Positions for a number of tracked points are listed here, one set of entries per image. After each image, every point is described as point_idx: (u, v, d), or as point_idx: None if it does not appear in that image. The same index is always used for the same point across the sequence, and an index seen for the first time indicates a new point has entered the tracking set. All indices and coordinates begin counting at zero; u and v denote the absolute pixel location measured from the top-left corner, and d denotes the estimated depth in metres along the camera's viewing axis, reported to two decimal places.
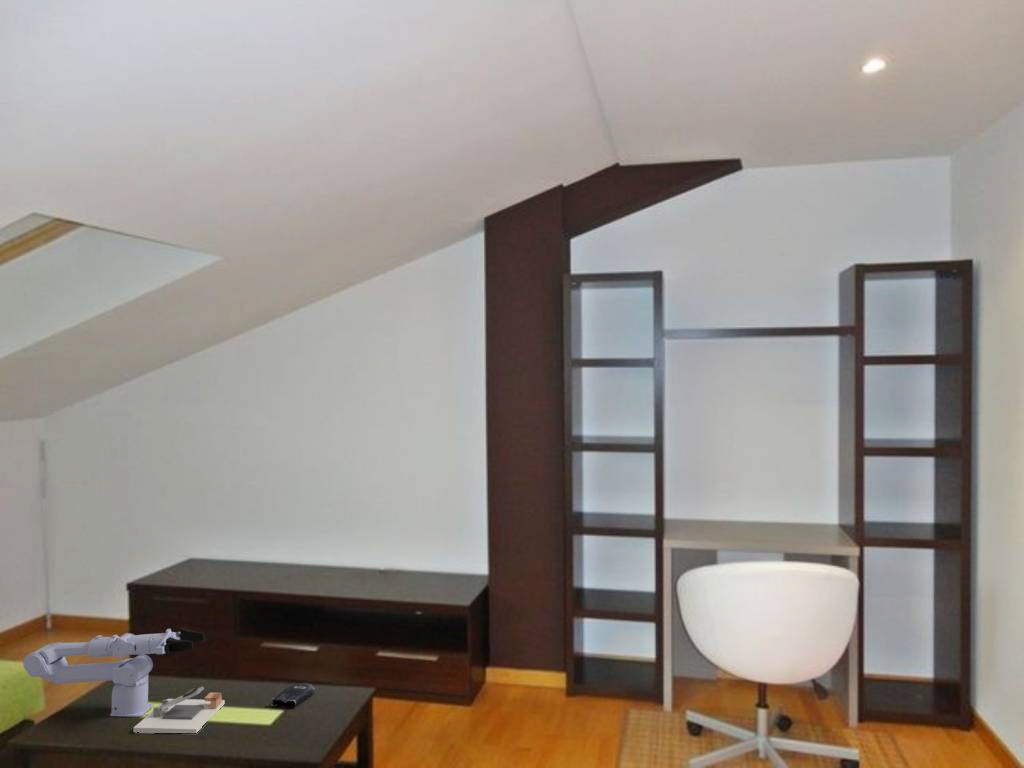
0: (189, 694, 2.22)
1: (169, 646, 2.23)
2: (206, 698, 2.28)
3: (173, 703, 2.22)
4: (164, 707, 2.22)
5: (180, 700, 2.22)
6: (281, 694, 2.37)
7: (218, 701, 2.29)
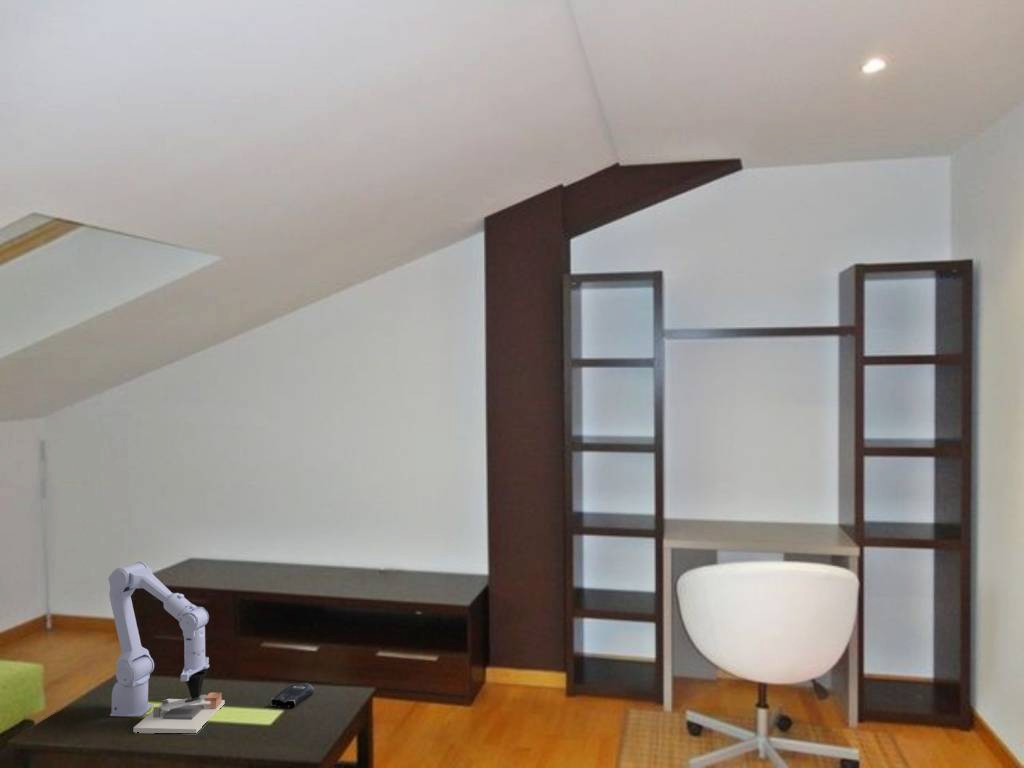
0: (192, 700, 2.22)
1: None
2: (206, 698, 2.28)
3: (174, 706, 2.22)
4: (164, 708, 2.22)
5: (182, 705, 2.22)
6: (280, 694, 2.37)
7: (218, 701, 2.29)
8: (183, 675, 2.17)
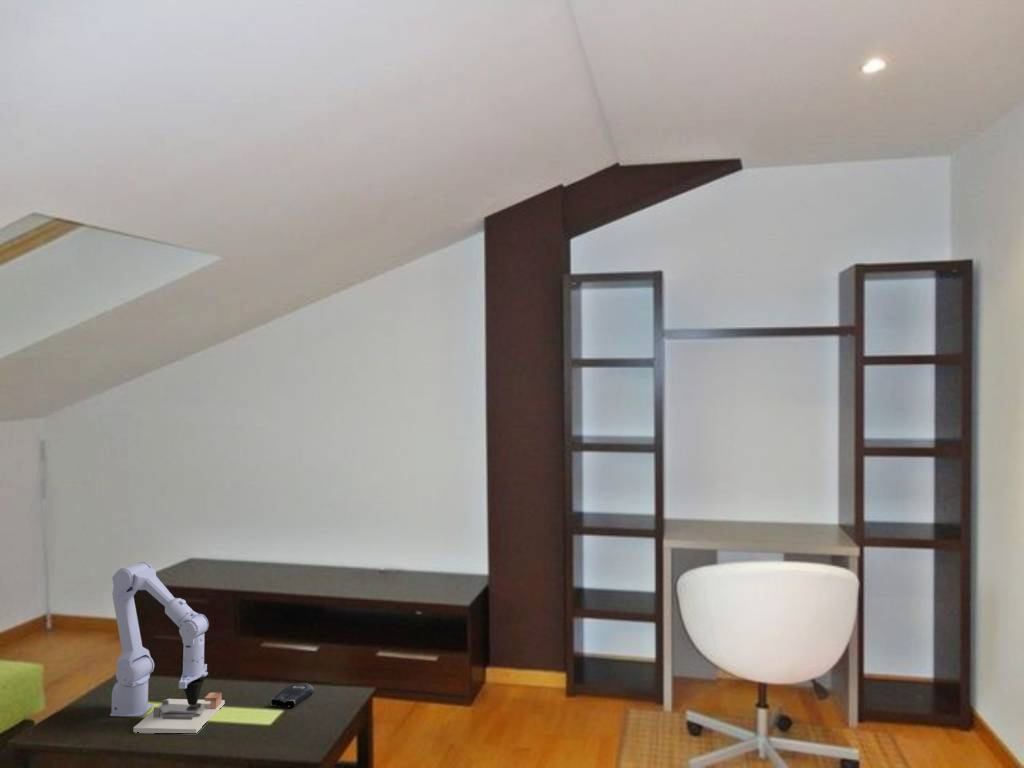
0: (193, 710, 2.22)
1: None
2: (206, 698, 2.28)
3: (175, 711, 2.22)
4: (165, 710, 2.22)
5: (182, 711, 2.22)
6: (280, 694, 2.37)
7: (218, 701, 2.29)
8: (181, 683, 2.17)
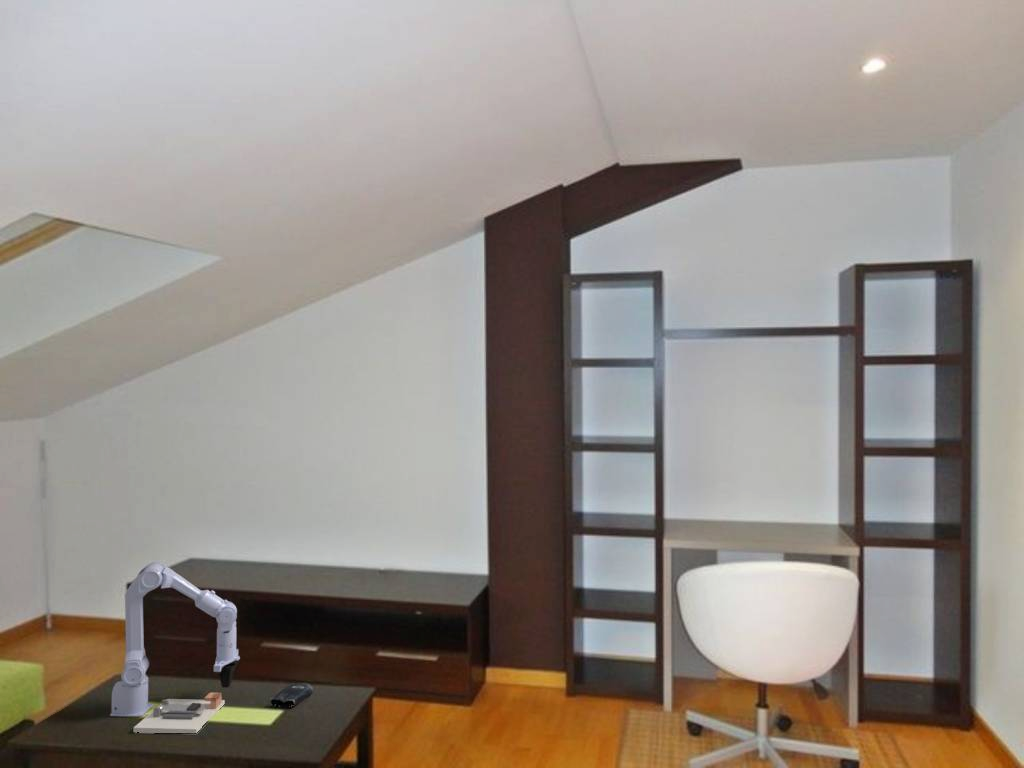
0: (193, 710, 2.22)
1: None
2: (206, 698, 2.28)
3: (175, 711, 2.22)
4: (165, 710, 2.22)
5: (182, 711, 2.22)
6: (279, 694, 2.37)
7: (218, 701, 2.29)
8: (216, 666, 2.29)
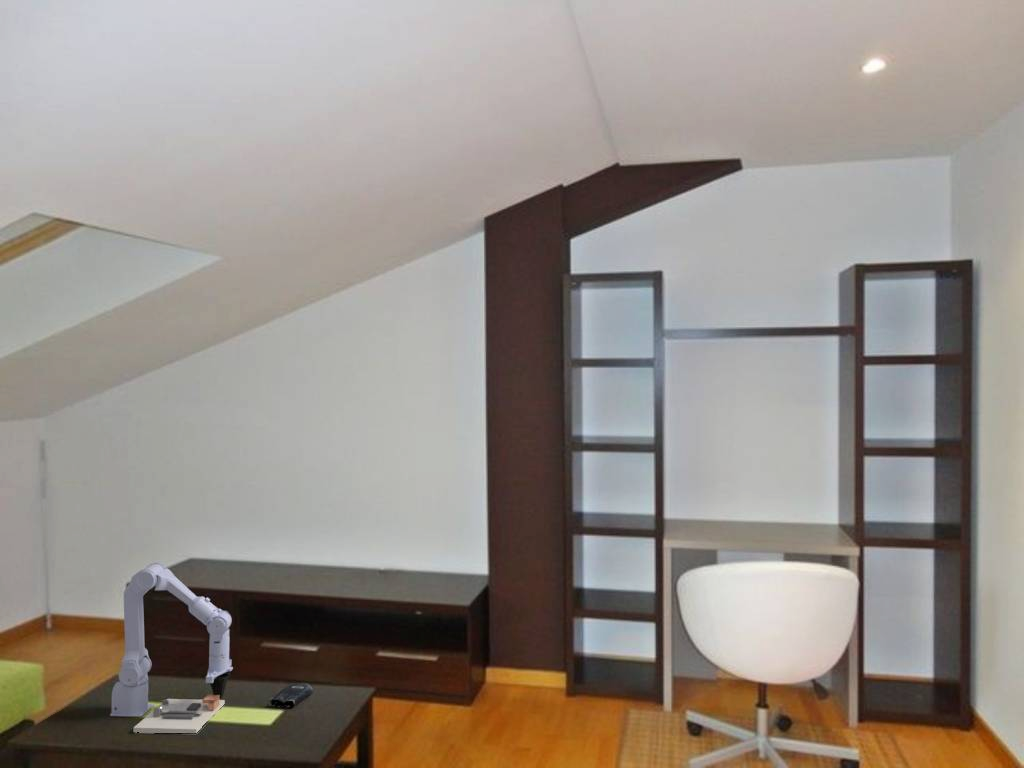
0: (193, 710, 2.22)
1: None
2: (204, 700, 2.26)
3: (175, 711, 2.22)
4: (165, 710, 2.22)
5: (182, 711, 2.22)
6: (279, 694, 2.37)
7: (216, 704, 2.28)
8: (208, 677, 2.24)
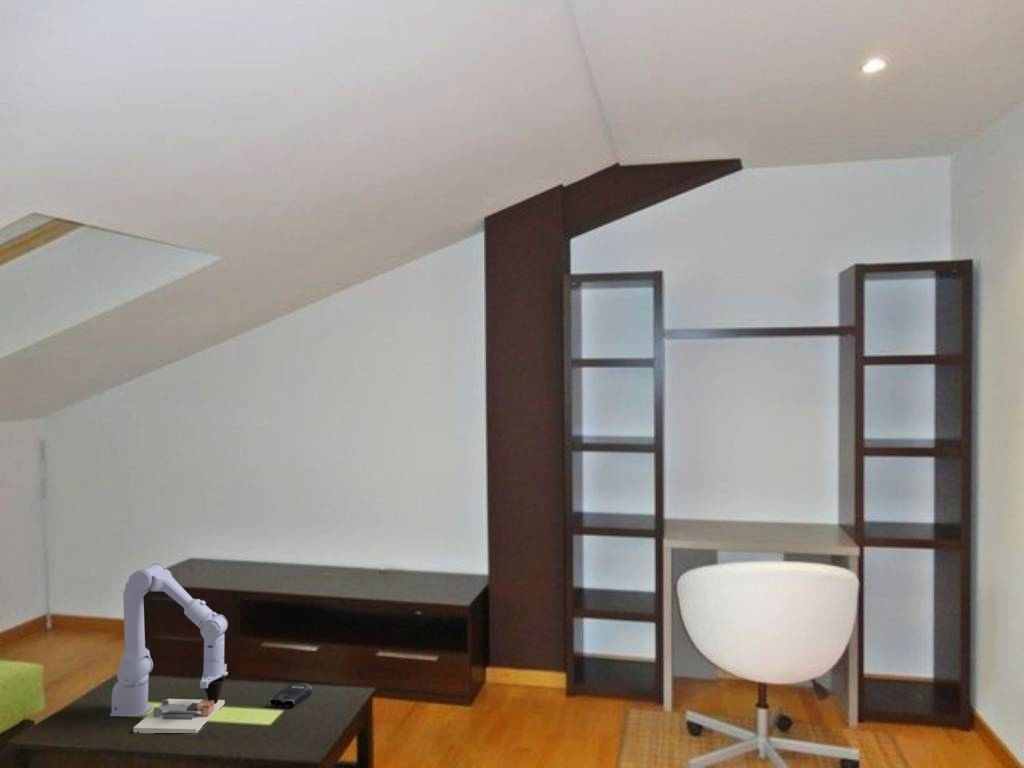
0: (193, 710, 2.22)
1: None
2: (198, 706, 2.22)
3: (175, 711, 2.22)
4: (165, 710, 2.22)
5: (182, 711, 2.22)
6: (279, 694, 2.37)
7: (211, 709, 2.24)
8: (202, 682, 2.20)
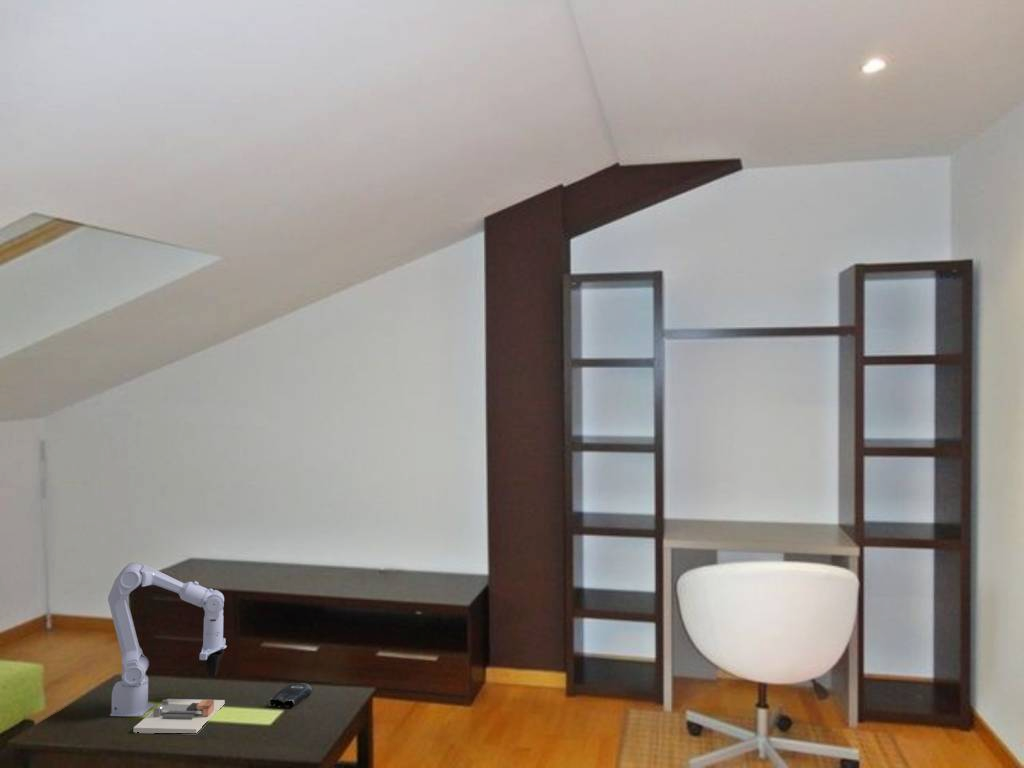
0: (193, 710, 2.22)
1: None
2: (198, 706, 2.22)
3: (175, 711, 2.22)
4: (165, 710, 2.22)
5: (182, 711, 2.22)
6: (279, 694, 2.37)
7: (211, 709, 2.24)
8: (202, 654, 2.28)
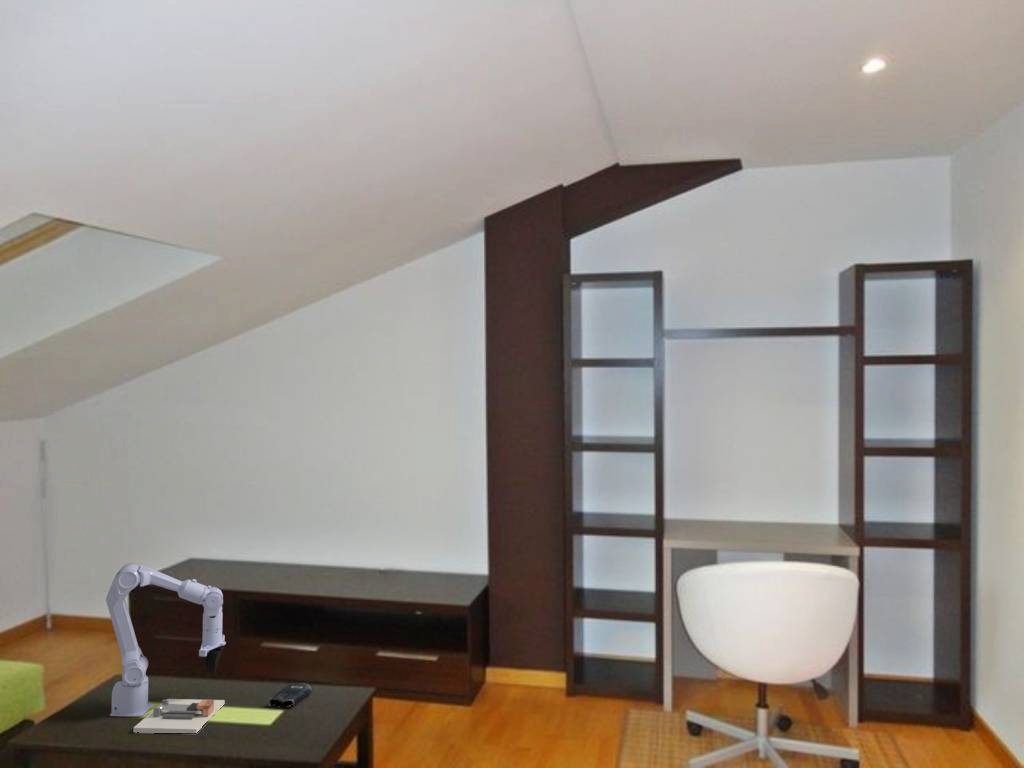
0: (193, 710, 2.22)
1: None
2: (198, 706, 2.22)
3: (175, 711, 2.22)
4: (165, 710, 2.22)
5: (182, 711, 2.22)
6: (278, 694, 2.37)
7: (211, 709, 2.24)
8: (201, 651, 2.29)
